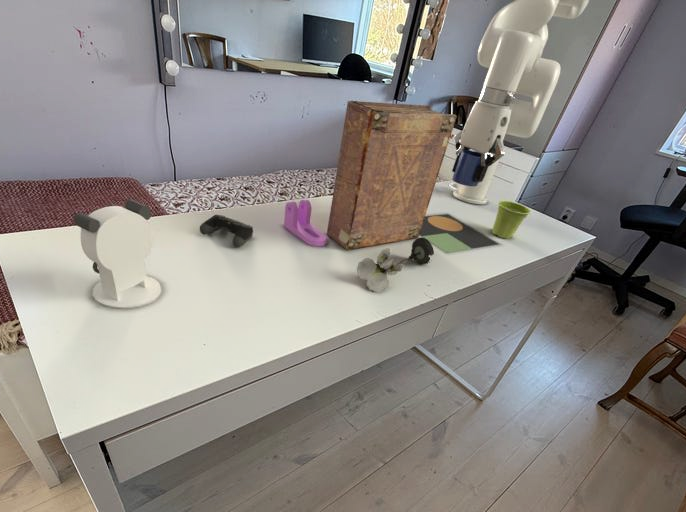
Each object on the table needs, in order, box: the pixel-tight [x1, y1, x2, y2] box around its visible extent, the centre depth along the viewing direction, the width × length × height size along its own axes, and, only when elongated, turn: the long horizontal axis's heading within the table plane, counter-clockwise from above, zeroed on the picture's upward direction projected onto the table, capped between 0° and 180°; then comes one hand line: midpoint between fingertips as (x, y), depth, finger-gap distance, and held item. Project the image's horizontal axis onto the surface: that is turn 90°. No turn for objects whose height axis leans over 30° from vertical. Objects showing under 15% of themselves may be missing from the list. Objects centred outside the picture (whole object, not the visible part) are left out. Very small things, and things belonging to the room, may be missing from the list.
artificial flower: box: [356, 237, 435, 293], centre depth 89 cm, size 9×22×10 cm, turn 130°
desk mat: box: [419, 213, 499, 253], centre depth 116 cm, size 22×22×1 cm
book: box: [326, 100, 457, 251], centre depth 96 cm, size 25×9×30 cm, turn 123°
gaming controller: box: [198, 214, 254, 248], centre depth 92 cm, size 12×8×5 cm, turn 63°
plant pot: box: [491, 200, 532, 240], centre depth 118 cm, size 9×9×9 cm
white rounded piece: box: [73, 198, 162, 310], centre depth 67 cm, size 12×11×15 cm
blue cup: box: [451, 149, 487, 186], centre depth 103 cm, size 7×7×7 cm
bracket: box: [283, 199, 328, 247], centre depth 98 cm, size 13×6×7 cm, turn 38°
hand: (466, 176), depth 105 cm, fingers closed on blue cup, 7 cm apart
